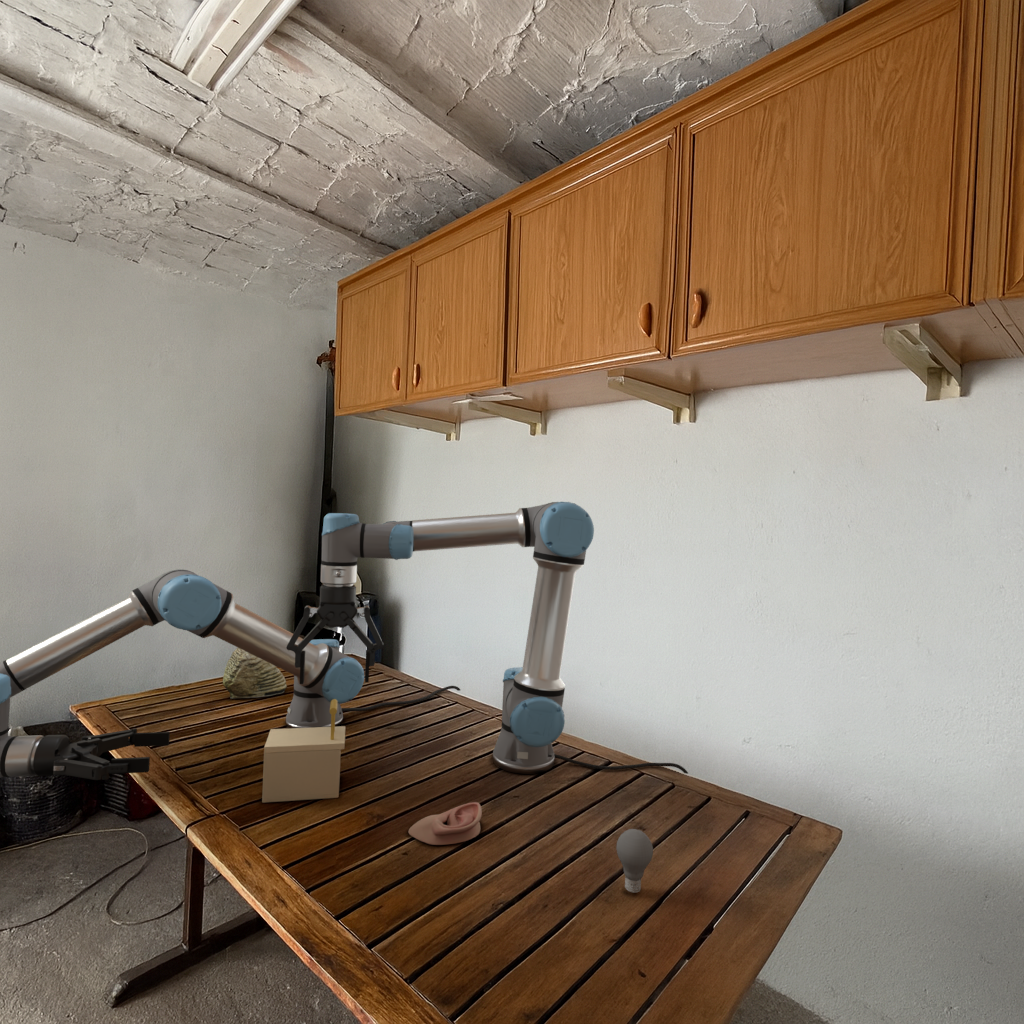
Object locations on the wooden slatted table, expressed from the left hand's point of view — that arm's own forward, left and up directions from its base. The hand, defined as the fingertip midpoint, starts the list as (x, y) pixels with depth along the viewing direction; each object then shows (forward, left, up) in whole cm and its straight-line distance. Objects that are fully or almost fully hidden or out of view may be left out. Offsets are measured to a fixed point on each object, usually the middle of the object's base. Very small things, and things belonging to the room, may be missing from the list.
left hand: (159, 750), depth 130 cm
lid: (-23, +17, 0) cm, 29 cm away
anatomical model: (-31, +52, -10) cm, 61 cm away
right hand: (-27, +21, +13) cm, 37 cm away
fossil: (-48, -49, -10) cm, 69 cm away
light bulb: (-39, +88, -10) cm, 97 cm away
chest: (-22, +17, -10) cm, 30 cm away
